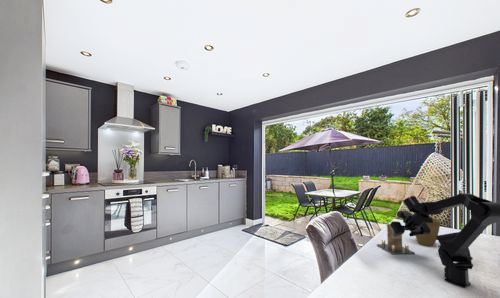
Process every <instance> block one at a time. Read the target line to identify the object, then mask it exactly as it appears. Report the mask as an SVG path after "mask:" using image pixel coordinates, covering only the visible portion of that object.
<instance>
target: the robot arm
mask: <svg viewBox="0 0 500 298" xmlns="http://www.w3.org/2000/svg"><path fill="white" fill-rule="evenodd" d="M402 202H403V204H404V205H405V207H406V208H407V209H408V210H399V211H397V212H396V216H397V217H398V218H400V219H402V222H403V223H404V225H402V223H401V222H400V221H397V220H395V221H391V222H390V223H389V224H390V225H391V227H392V229H393V230H394V234H393V235H394V236H399V235H402V236H403V235H404V234H405V231H410V232H409V234H408V235H409V237H416V236H417V235H424V234H429V233H430V228H429V227H428V226H427V224H426V223H433V220H432V218H433V217H431V216H438V215H440V214H442V213H443V212H444V211H446V210H449V209H453V208H457V207H461V206H464V207H465V208H466V209H467V210H468V211H470V218H469V220H468V221H467V222H466V223H465V225H464V226H463V227H462V229H460V231H458V232H459V233H458V235H457V236H456V237H455V238H454V239H453V241H443V242H442V243H441V245H440V244H439V245H438V248H437V249H438V250H437V252H438V256H439V259H440V262H441V265H443V266H444V269H443V270H444V272H443V273H444V281H445V282H448V283H451V284H454V285H455V286H456V285H457V286H460V287H462V288H465V289H466V288H467V287H468V286H470V285H471V284H472V283H471V282H470V277H469V270H472V269H473V267H474V264H473V262H472V261H471V262H472V263H471V262H470V260H469V259H468V258H467V257H466V256H467V248H469V247H470V246H471V245H472V244H473V243H474V242H475V241H476V240H477V238H479V237H480V235H481V234H482V233H483V232H484V231H486V229H487V227H489V226H490V225H494V224H495V223H498V222H500V203H499V202H493V201H492V200H488V199H485V198H483V197H479V196H477V195H475V194H472V193H466V192H465V193H464V192H463V193H458V194H456V195H453V196H449V197H446V198H442V199H440V200H436V201H424V202H420V201H419V200H418V199H417V197H416V196H415V195H411V196H409V197H407V198H404V199H403V201H402Z"/></svg>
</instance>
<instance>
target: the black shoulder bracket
mask: <svg viewBox="0 0 500 298" xmlns="http://www.w3.org/2000/svg"><path fill="white" fill-rule="evenodd" d="M459 232H460V231H458V232H457V231H456V232H451V233H446V234H445V233H444V234H438V236H436V241H438V243H439V246H440V245H441V243H442V242H443V241H453V239H454V238H455V237H456V236H457V235H458V233H459ZM466 257H467V258H468V259H469V260H470V262H471V263H472V264H473V262H472V260H473V257H472V256H471V251H470V248H469V247H468V248H467V256H466Z"/></svg>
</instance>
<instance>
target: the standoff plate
mask: <svg viewBox="0 0 500 298" xmlns="http://www.w3.org/2000/svg"><path fill="white" fill-rule="evenodd" d="M376 246H377V247H378V248H380V249H381V250H383V251H385V252H386V253H389V254H390V255H393V256H394V255H395V256H396V255H399V256H403V255H404V256H407V255H413V256H414V255H416V252H415V251H412V249H411V250H410V249H409V248H410V247H409V245H407V244H405V245H404V246H402V250H395V245H392V249H391V248H389V247H388V243H387V244H386V240H385V239H382V240H381V243H377V244H376Z"/></svg>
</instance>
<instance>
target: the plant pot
mask: <svg viewBox="0 0 500 298" xmlns="http://www.w3.org/2000/svg"><path fill="white" fill-rule="evenodd" d="M432 220H433V223H426V224H427V226H428V227H429V228H430V233H429V234H424V235H417V236H415V239H416V240H417V243H418V244H419V245H421V246H425V247H434V246H435V244H436V241H437V240H436V236H438V235H439V233H440V228H441V227H440V226H441V220H440V219H438V218H434V217H432Z"/></svg>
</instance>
